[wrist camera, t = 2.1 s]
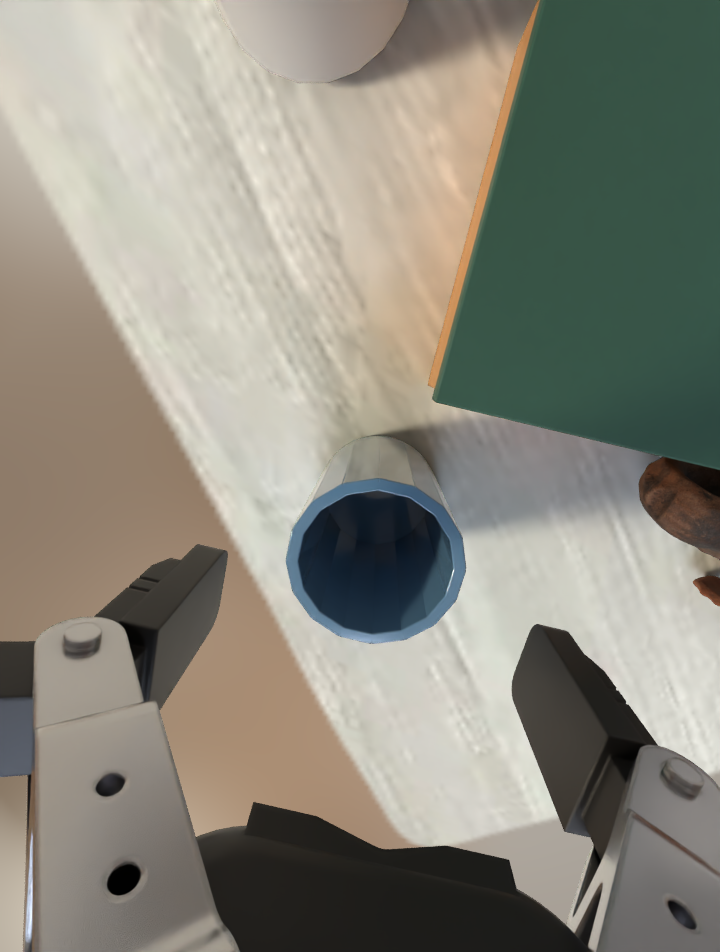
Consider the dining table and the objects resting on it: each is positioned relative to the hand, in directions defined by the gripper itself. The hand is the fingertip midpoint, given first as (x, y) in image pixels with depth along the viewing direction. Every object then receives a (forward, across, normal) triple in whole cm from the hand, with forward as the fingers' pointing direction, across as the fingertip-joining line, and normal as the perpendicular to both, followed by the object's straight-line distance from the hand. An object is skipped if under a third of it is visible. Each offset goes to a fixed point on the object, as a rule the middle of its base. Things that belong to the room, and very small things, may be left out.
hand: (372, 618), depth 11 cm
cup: (+11, 0, 0) cm, 11 cm away
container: (+11, -6, -12) cm, 17 cm away
